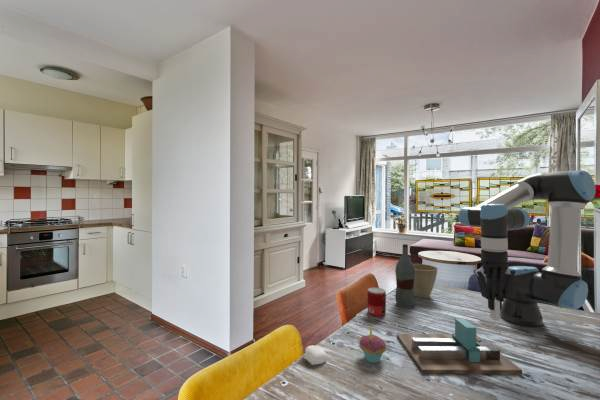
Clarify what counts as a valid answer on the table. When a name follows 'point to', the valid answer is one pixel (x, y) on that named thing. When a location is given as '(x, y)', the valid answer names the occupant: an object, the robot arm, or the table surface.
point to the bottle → (405, 280)
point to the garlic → (315, 355)
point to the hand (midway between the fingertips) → (495, 318)
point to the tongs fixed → (459, 352)
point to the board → (456, 365)
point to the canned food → (377, 302)
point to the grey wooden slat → (434, 342)
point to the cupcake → (372, 347)
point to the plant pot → (424, 280)
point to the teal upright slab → (467, 338)
